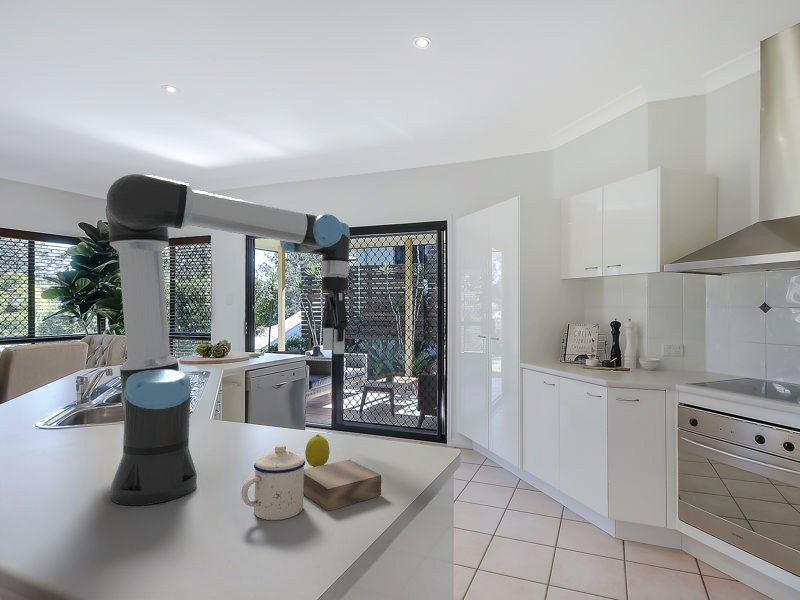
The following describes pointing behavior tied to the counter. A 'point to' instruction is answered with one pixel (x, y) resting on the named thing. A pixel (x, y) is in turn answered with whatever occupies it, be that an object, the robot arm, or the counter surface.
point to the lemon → (317, 451)
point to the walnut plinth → (341, 484)
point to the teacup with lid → (277, 485)
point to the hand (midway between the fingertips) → (332, 352)
